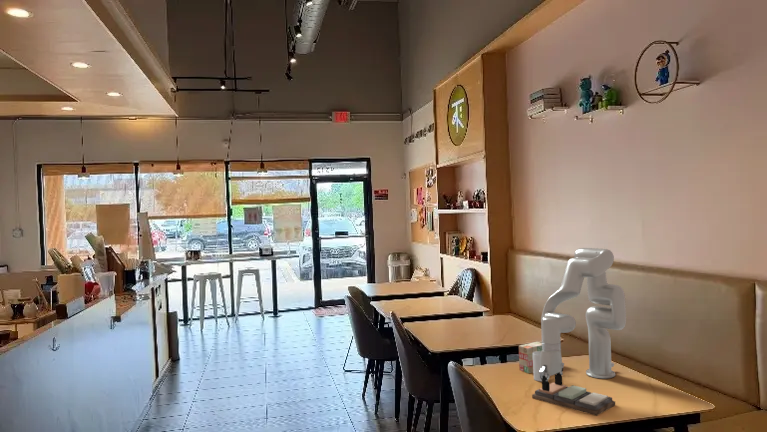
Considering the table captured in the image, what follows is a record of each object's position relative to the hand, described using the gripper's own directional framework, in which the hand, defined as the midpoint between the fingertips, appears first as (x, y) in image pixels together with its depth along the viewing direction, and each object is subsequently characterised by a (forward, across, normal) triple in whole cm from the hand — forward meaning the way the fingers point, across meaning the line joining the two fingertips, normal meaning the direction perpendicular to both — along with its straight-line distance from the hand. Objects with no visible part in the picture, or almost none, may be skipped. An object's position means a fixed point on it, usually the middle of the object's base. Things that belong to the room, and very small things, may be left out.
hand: (552, 387), depth 230 cm
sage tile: (+1, 0, +9) cm, 9 cm away
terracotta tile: (+2, 0, 0) cm, 2 cm away
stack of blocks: (+4, -30, -25) cm, 39 cm away
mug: (+4, -17, -15) cm, 23 cm away
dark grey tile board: (+4, 0, +9) cm, 10 cm away
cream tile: (+2, 0, +18) cm, 18 cm away
